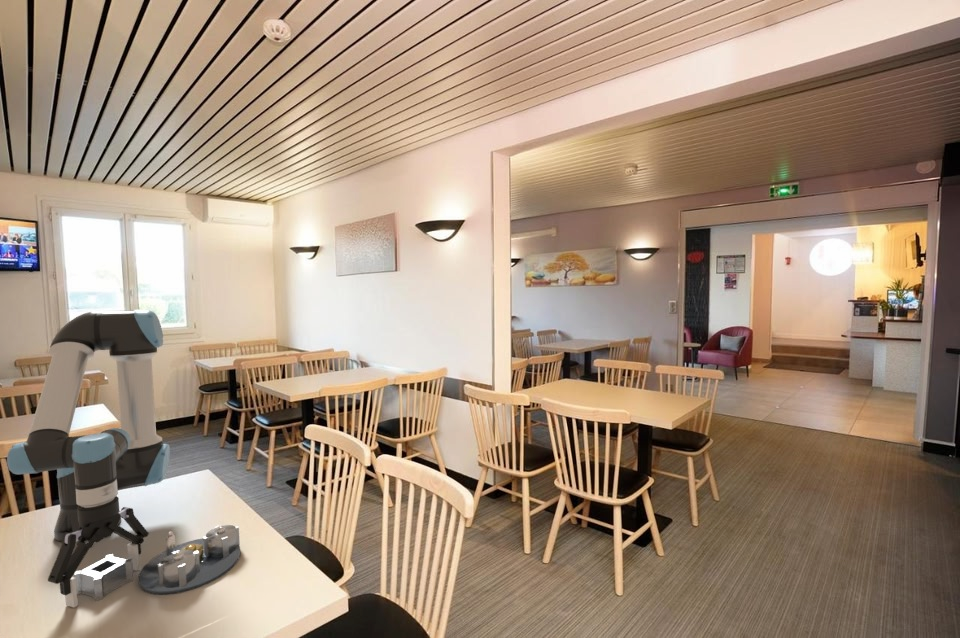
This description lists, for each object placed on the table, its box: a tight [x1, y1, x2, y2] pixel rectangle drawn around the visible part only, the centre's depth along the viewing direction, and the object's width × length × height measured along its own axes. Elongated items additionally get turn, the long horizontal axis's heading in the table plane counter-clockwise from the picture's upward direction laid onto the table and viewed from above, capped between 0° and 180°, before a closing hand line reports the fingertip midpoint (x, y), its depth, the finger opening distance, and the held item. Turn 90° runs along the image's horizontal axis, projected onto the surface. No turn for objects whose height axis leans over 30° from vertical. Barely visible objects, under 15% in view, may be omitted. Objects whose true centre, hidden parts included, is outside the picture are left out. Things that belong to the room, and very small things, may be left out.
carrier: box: [138, 524, 241, 596], centre depth 117 cm, size 22×22×8 cm
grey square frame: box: [73, 553, 135, 602], centre depth 109 cm, size 9×9×5 cm
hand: (104, 586), depth 109 cm, fingers open, 13 cm apart
